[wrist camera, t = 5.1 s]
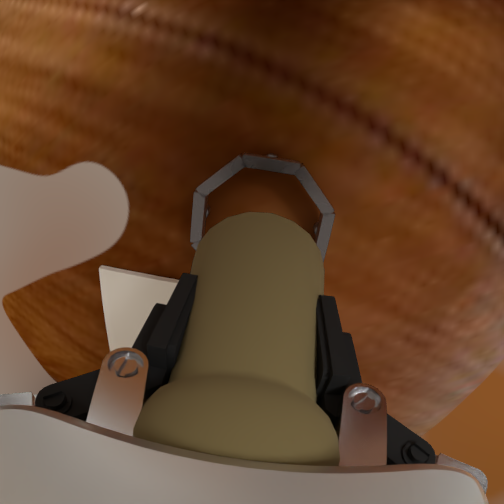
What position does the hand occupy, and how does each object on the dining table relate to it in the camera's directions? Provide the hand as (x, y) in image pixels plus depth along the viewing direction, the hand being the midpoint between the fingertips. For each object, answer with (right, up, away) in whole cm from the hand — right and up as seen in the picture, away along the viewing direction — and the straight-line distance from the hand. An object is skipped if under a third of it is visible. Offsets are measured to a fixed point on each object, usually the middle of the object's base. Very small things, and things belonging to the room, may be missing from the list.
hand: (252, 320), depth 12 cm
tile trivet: (-9, -4, +17) cm, 20 cm away
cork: (0, +2, +3) cm, 3 cm away
